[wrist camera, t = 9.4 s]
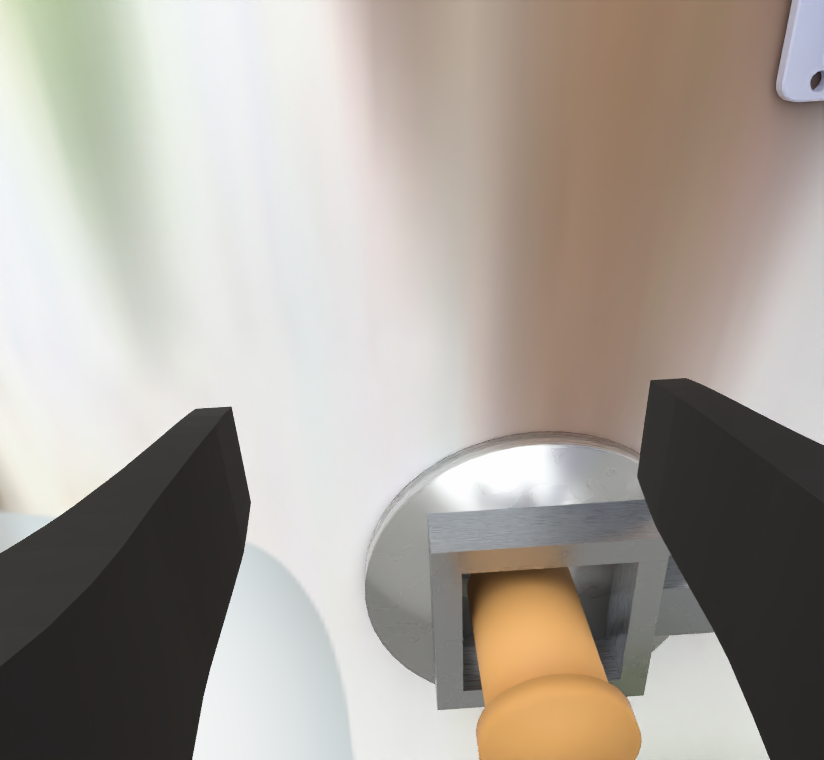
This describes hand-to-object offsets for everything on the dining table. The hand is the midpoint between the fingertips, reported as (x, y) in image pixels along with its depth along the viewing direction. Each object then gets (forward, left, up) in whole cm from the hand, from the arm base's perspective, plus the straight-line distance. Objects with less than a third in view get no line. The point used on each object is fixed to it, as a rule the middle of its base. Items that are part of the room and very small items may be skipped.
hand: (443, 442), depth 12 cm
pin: (-3, +13, -9) cm, 16 cm away
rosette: (-7, +13, -10) cm, 18 cm away
